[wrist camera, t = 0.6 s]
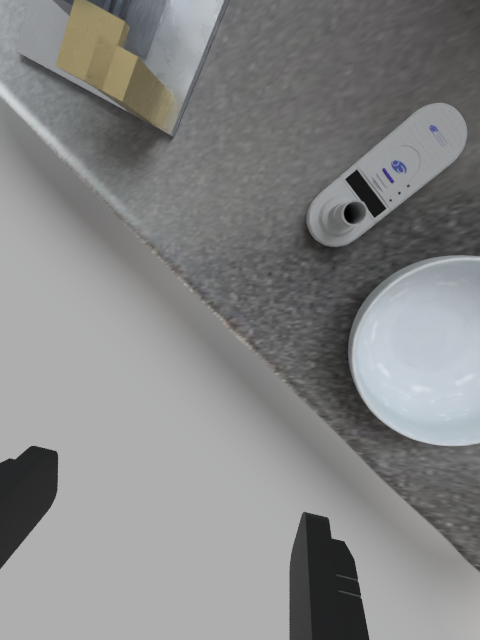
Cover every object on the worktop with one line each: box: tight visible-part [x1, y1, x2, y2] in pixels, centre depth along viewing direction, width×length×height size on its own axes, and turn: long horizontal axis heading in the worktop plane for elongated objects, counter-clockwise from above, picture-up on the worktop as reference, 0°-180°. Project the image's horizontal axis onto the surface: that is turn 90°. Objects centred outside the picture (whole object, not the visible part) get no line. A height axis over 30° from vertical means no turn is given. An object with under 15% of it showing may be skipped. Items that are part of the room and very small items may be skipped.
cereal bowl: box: [348, 255, 480, 446], centre depth 33 cm, size 17×17×7 cm
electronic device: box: [306, 103, 467, 247], centre depth 29 cm, size 5×10×15 cm
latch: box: [56, 0, 174, 129], centre depth 29 cm, size 4×5×8 cm
